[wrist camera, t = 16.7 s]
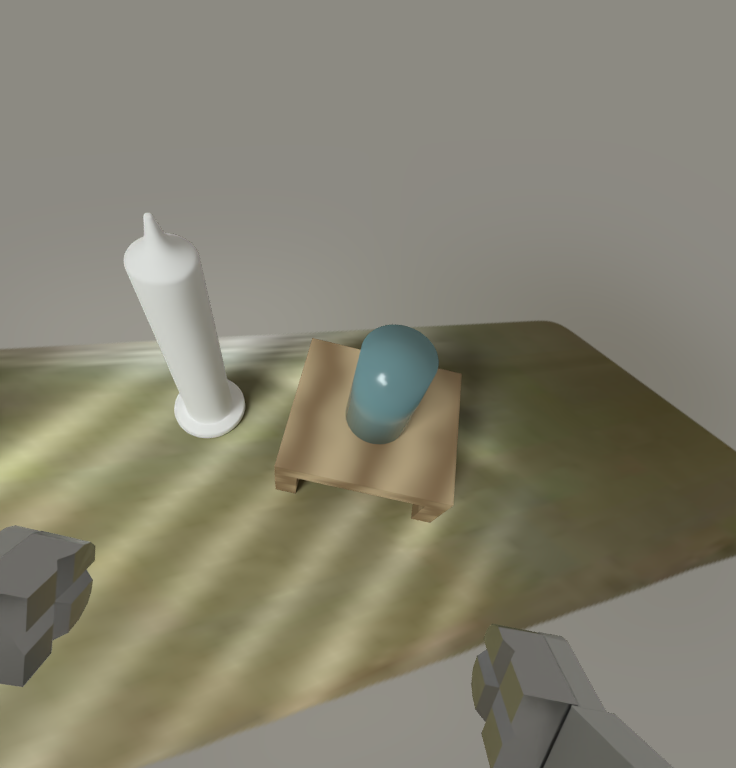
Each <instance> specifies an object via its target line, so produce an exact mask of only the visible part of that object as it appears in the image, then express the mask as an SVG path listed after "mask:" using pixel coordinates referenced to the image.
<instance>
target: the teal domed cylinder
mask: <svg viewBox="0 0 736 768" xmlns="http://www.w3.org/2000/svg"><path fill="white" fill-rule="evenodd" d="M438 363H439V361H438V355H437V352H436V349H435V348H434V346H433V344H432V343H431V342H430V340H429V339H428V338H427V337H425V336H424V335H423V334H422V333H420V332H419V331H417V330H415V329H413V328H410V327H407V326H403V325H385V326H381V327H379V328H377V329H375V330H373V331H372V332H370V333H369V334H368V335H367V337H366V338H365V339H364V341H363V344H362V347H361V351H360V355H359V359H358V363H357V366H356V370H355V374H354V378H353V382H352V386H351V390H350V394H349V398H348V402H347V406H346V413H345V415H346V421H347V424H348V426H349V428H350V429H351V431H352V432H353V433H354V434H355V435H356V436H357V437H358V438H360V439H361V440H363V441H365V442H368V443H371V444H387V443H390V442H393V441H395V440H396V439H398V438H399V437H400V436H401V435H402V434H403V432H404V430H405V429H406V427H407V425H408V423H409V421H410V420H411V418H412V416H413V414H414V412H415V411H416V409H417V407H418V405H419V403H420V402H421V400H422V398H423V396H424V395H425V393H426V391H427V389H428V387H429V386H430V384H431V382H432V380H433V378H434V377H435V375H436V373H437V370H438Z"/></svg>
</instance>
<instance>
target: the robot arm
mask: <svg viewBox="0 0 736 768" xmlns="http://www.w3.org/2000/svg"><path fill="white" fill-rule="evenodd" d="M94 561H95V545H94V544H92V543H91V542H88V541H84V540H79V539H75V538H71V537H66V536H62V535H58V534H53V533H49V532H44V531H38V530H33V529H29V528H25V527H20V526H16V525H15V526H11V527H6V528H5V529H3V530H2V531H0V684H6V685H13V686H20V687H23V686H24V685H25V684H26V682H27V681H28V680H29V679H30V678H31V676H32V675H33V674H34V673H35V672H36V671H37V669H38V668H39V667H40V666H41V665H42V663H43V662H44V661H45V660H46V659H47V657H48V656H49V655H50V654H51V650H52V640H54V639H56V638H58V637H60V636H62V635H64V634H66V633H68V632H69V631H70V630H71V629H72V627H73V626H74V625H75V624H76V622H77V621H78V620H79V618H80V616H81V615H82V613H83V611H84V609H85V607H86V605H87V603H88V600H89V597H90V594H91V590H92V582H93V580H92V578H91V576H90V575H89V573H88V571H87V570H86V569H87V568H88V567H89V566H90V565H91V564H92V563H93V562H94ZM484 641H485V645H486V648H487V649H486V650H485V651H483V652H482V653H481V654H479V655H478V656H477V658H476V661H475V664H474V667H473V672H472V683H471V685H472V696H473V701H474V705H475V709H476V710H477V712H478V713H479V714H480V716H481V717H482V718H483V719H484V721H485V722H486V723H485V726H484V728H483V731H482V737H483V741H484V745H485V749H486V753H487V757H488V761H489V765H490V768H673V767H672V766H671V765H670V764H669V763H668V762H667V761H666V760H664V759H663V758H662V757H661V756H660V755H659V754H658V753H657V752H656V751H655V750H654V749H652V748H651V747H650V746H649V745H648V744H647V743H646V742H645V741H644V740H643V739H642V738H640V737H639V736H638V735H637V734H636V733H635V732H634V731H633V730H632V729H631V728H630V727H628V726H627V725H626V724H625V723H624V722H623V721H622V720H621V719H620V718H619V717H617V716H616V715H615V714H614V713H609V712H606V710H605V708H604V706H603V705H602V703H601V701H600V699H599V697H598V696H597V694H596V692H595V690H594V688H593V686H592V685H591V683H590V681H589V679H588V677H587V676H586V674H585V672H584V670H583V668H582V667H581V665H580V663H579V661H578V659H577V657H576V656H575V654H574V652H573V650H572V648H571V647H570V645H569V643H568V641H567V640H565V639H564V638H563V637H562V636H557V635H552V634H546V633H540V632H538V633H536V632H532V631H527V630H522V629H517V628H512V627H507V626H502V625H496V624H491V625H490V626H489V628H488V629H487V631H486V634H485V636H484Z"/></svg>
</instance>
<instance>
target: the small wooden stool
mask: <svg viewBox="0 0 736 768" xmlns="http://www.w3.org/2000/svg"><path fill="white" fill-rule="evenodd" d="M360 351H361V350H360V349H356V348H352V347H347V346H343V345H339V344H335V343H331V342H327V341H322V340H318V339H314V338H312V341H311V344H310V348H309V351H308V355H307V358H306V361H305V365H304V368H303V372H302V375H301V378H300V382H299V385H298V388H297V392H296V395H295V399H294V402H293V405H292V409H291V412H290V415H289V419H288V422H287V426H286V429H285V432H284V436H283V439H282V443H281V446H280V449H279V453H278V456H277V459H276V463H275V484H276V489H278V490H282V491H287V492H291V493H296V489H297V485H298V482H299V479H302V480H307V481H312V482H316V483H321V484H325V485H330V486H334V487H339V488H344V489H348V490H353V491H357V492H362V493H366V494H371V495H376V496H380V497H385V498H389V499H394V500H398V501H403V502H408V503H412V504H413V507H412V516H411V519H416V520H421V521H425V522H432V521H433V520H434V519H436V518H437V517H438V516H440V515H441V514H442V513H444V512H445V511H447V510H448V509H449V508H451V507H452V506H453V503H454V487H455V471H456V456H457V440H458V424H459V409H460V393H461V377H462V374H460V373H456V372H452V371H448V370H443V369H439V368H438V370H437V373H436V375H435V377H434V378H433V380H432V382H431V384H430V386H429V387H428V389H427V391H426V393H425V395H424V396H423V398H422V400H421V402H420V403H419V405H418V407H417V409H416V411H415V412H414V414H413V416H412V418H411V420H410V421H409V423H408V425H407V427H406V429H405V430H404V432H403V434H402V435H401V436H400V437H399V438H398V439H396V440H395V441H393V442H390V443H387V444H371V443H368V442H365V441H363V440H361V439H360V438H358V437H357V436H356V435H355V434H354V433H353V432H352V431H351V429H350V428H349V426H348V424H347V421H346V415H345V413H346V406H347V402H348V398H349V394H350V390H351V386H352V382H353V378H354V374H355V370H356V366H357V363H358V359H359V355H360Z"/></svg>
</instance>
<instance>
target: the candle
mask: <svg viewBox="0 0 736 768" xmlns="http://www.w3.org/2000/svg"><path fill="white" fill-rule="evenodd" d="M143 220H144V236H143V237H141V238H139V239H137V240H136V241H134V242H133V243H132V244H131V245H130V246H129V247H128V249H127V250H126V252H125V255H124V267H125V270H126V272H127V274H128V276H129V279H130V281H131V283H132V286H133V288H134V290H135V292H136V295H137V297H138V299H139V301H140V304H141V306H142V308H143V311H144V313H145V315H146V317H147V320H148V322H149V324H150V326H151V329H152V331H153V333H154V336H155V338H156V340H157V343H158V345H159V347H160V349H161V352H162V354H163V356H164V358H165V361H166V363H167V365H168V368H169V370H170V372H171V374H172V377H173V379H174V381H175V384H176V386H177V388H178V390H179V395H178V396H177V398H176V401H175V406H174V412H175V417H176V419H177V421H178V423H179V425H180V426H181V427H182V429H184V430H185V431H186V432H187V433H189V434H191V435H193V436H196V437H200V438H214V437H218V436H222V435H224V434H226V433H228V432H230V431H231V430H232V429H234V428H235V427H236V426H237V425H238V423H239V422H240V421H241V419H242V417H243V415H244V411H245V400H244V396H243V393H242V391H241V390H240V388H239V387H238V386H237V385H236V384H235V383H233V382H232V381H230V380H228V379H227V376H226V372H225V367H224V363H223V358H222V354H221V350H220V345H219V341H218V336H217V332H216V327H215V323H214V319H213V314H212V310H211V305H210V301H209V296H208V292H207V288H206V283H205V279H204V274H203V270H202V265H201V261H200V257H199V253H198V251H197V249H196V248H195V246H194V245H193V244H192V243H191V242H190V241H188V240H187V239H185V238H183V237H181V236H179V235H176V234H171V233H164V232H163V230H162V229H161V227H160V226H159V224H158V222H157V221H156V219H155V218H154V216H153V215H152V214H151V213H145V214H144V216H143Z"/></svg>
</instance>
